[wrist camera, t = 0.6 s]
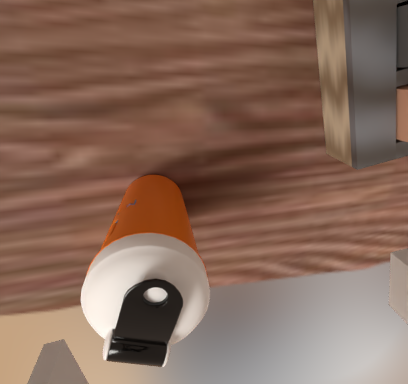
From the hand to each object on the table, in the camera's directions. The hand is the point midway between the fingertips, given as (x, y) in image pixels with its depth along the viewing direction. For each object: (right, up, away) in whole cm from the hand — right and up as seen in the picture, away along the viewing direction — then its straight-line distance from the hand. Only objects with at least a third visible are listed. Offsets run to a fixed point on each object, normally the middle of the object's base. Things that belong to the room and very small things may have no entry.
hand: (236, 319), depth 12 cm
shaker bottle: (-7, +4, +25) cm, 26 cm away
